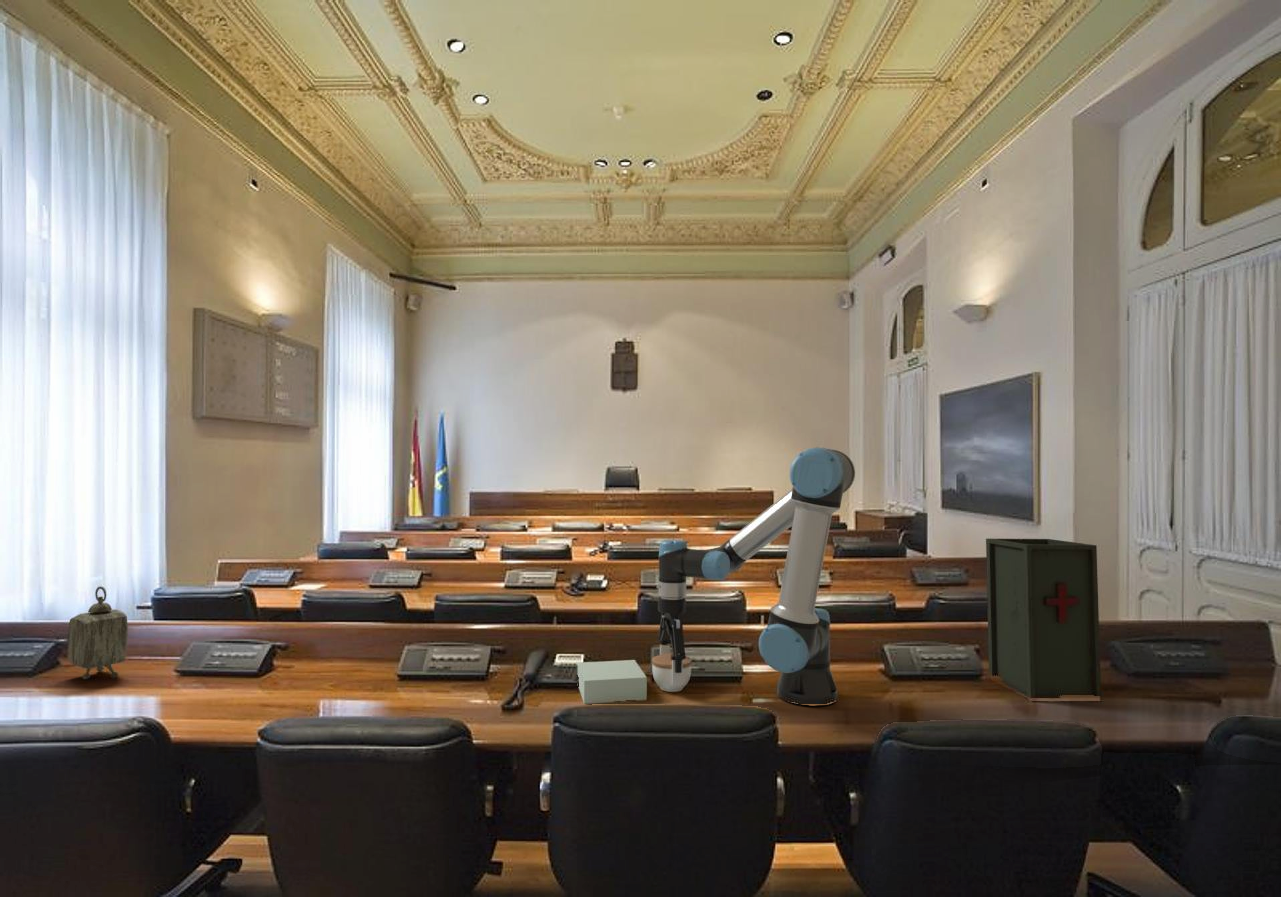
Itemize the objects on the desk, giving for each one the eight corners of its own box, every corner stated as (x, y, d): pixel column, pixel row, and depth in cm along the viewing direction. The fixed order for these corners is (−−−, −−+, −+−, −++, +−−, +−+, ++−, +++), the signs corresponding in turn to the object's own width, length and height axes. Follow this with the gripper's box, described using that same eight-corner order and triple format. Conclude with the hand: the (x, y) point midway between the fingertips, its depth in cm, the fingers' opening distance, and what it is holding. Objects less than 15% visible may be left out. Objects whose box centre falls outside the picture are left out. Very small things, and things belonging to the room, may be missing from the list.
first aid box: (1052, 679, 180) (1048, 538, 182) (1101, 701, 161) (1096, 545, 163) (988, 679, 179) (985, 538, 181) (1031, 701, 161) (1027, 545, 163)
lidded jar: (688, 696, 163) (688, 659, 163) (648, 693, 165) (648, 657, 166) (693, 683, 173) (693, 649, 174) (655, 680, 176) (655, 646, 176)
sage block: (634, 681, 176) (634, 660, 176) (646, 701, 160) (646, 677, 160) (577, 684, 173) (577, 662, 173) (584, 705, 157) (584, 680, 157)
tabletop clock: (125, 677, 174) (129, 587, 176) (83, 686, 167) (88, 591, 168) (105, 669, 182) (109, 582, 183) (64, 677, 174) (69, 586, 176)
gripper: (648, 589, 182) (647, 663, 181) (669, 606, 158) (668, 692, 157) (673, 588, 183) (672, 662, 182) (698, 606, 159) (697, 691, 158)
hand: (670, 676), depth 170 cm, fingers open, 13 cm apart
